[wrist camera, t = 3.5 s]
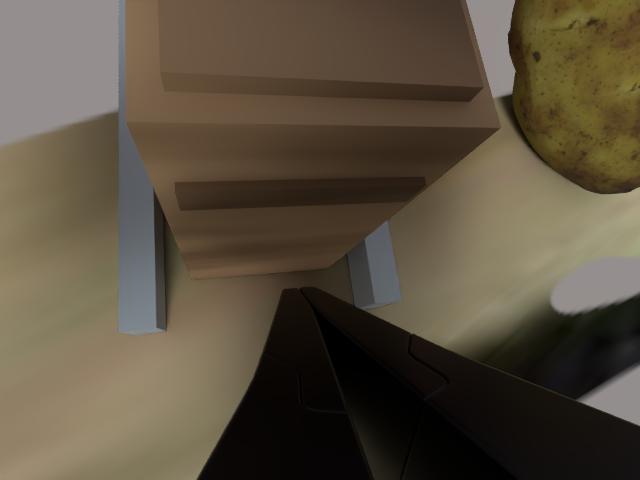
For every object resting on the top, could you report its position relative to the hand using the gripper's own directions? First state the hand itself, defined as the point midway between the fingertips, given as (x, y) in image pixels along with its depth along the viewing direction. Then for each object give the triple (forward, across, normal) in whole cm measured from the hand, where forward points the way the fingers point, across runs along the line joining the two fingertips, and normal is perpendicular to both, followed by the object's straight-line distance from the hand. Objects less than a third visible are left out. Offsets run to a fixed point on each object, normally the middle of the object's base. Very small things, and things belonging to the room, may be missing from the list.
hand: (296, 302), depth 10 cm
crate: (+9, 0, -1) cm, 9 cm away
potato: (+13, +18, +2) cm, 23 cm away
